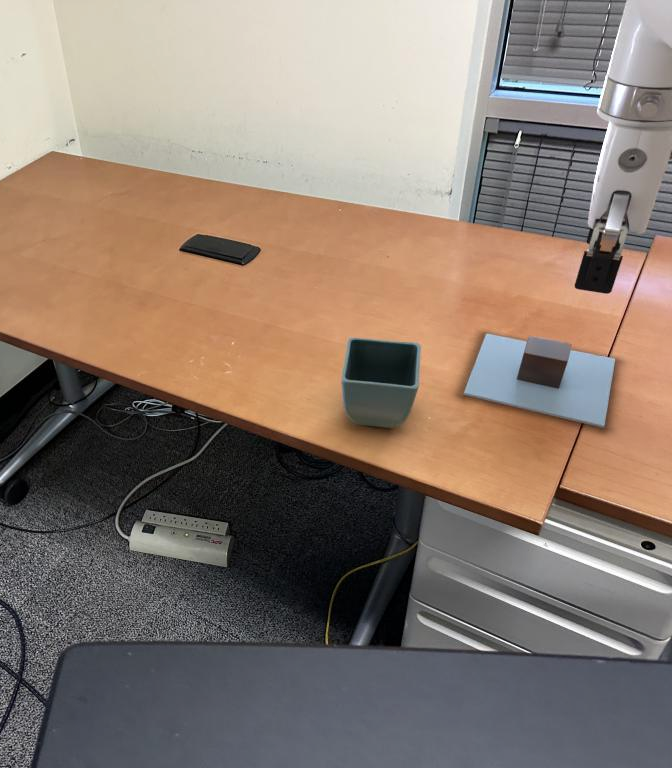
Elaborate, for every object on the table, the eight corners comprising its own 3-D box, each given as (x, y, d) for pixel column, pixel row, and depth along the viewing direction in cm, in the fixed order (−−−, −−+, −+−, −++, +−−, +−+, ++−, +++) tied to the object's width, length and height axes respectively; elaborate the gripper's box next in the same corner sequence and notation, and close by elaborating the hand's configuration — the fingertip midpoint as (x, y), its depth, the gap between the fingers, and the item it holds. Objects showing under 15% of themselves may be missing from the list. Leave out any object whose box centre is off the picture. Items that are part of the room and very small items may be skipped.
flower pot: (410, 442, 85) (419, 387, 79) (337, 434, 87) (340, 380, 81) (413, 396, 91) (421, 342, 85) (344, 389, 93) (348, 336, 88)
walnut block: (563, 370, 90) (572, 343, 87) (558, 389, 88) (567, 361, 85) (521, 362, 93) (529, 335, 90) (516, 379, 90) (523, 352, 87)
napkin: (614, 360, 91) (615, 358, 91) (603, 428, 82) (604, 425, 82) (485, 335, 98) (486, 333, 98) (463, 394, 90) (463, 392, 90)
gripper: (699, 135, 53) (633, 317, 64) (703, 68, 64) (646, 234, 75) (589, 128, 57) (544, 302, 68) (610, 66, 68) (568, 225, 78)
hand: (597, 266), depth 71 cm, fingers open, 9 cm apart
